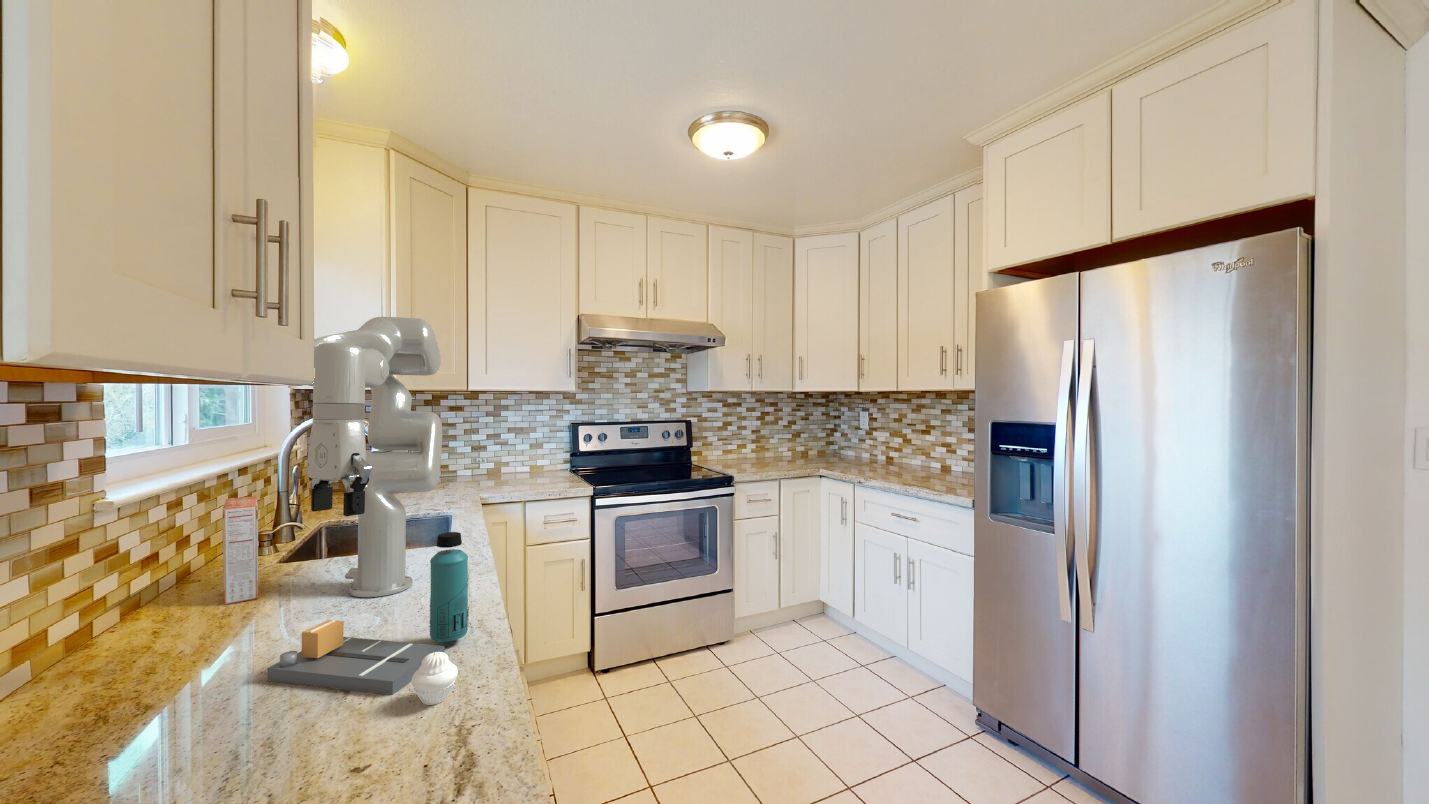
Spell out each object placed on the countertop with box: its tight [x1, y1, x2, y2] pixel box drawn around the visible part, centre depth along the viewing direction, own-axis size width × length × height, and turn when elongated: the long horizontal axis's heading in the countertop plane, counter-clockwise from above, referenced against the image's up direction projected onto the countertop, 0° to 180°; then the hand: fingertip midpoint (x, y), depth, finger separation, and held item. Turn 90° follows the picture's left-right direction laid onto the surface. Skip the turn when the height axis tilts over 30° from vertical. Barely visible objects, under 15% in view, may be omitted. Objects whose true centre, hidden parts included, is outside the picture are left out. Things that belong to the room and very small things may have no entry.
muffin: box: [410, 651, 459, 706], centre depth 81 cm, size 6×6×7 cm
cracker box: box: [222, 495, 259, 605], centre depth 123 cm, size 14×6×21 cm, turn 40°
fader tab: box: [301, 619, 344, 658], centre depth 91 cm, size 3×5×4 cm, turn 171°
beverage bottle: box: [428, 531, 470, 643], centre depth 100 cm, size 6×7×20 cm
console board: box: [266, 636, 445, 696], centre depth 90 cm, size 22×12×4 cm, turn 81°
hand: (337, 512), depth 96 cm, fingers open, 9 cm apart
